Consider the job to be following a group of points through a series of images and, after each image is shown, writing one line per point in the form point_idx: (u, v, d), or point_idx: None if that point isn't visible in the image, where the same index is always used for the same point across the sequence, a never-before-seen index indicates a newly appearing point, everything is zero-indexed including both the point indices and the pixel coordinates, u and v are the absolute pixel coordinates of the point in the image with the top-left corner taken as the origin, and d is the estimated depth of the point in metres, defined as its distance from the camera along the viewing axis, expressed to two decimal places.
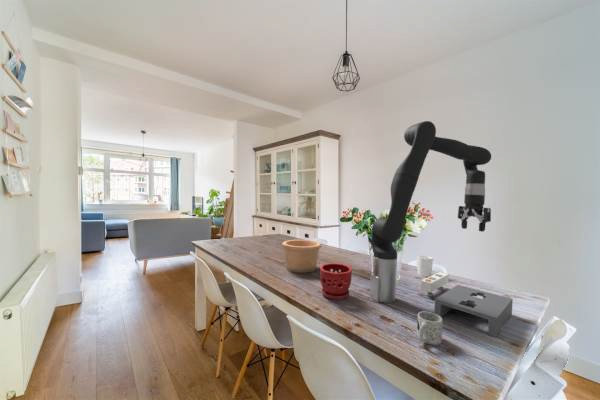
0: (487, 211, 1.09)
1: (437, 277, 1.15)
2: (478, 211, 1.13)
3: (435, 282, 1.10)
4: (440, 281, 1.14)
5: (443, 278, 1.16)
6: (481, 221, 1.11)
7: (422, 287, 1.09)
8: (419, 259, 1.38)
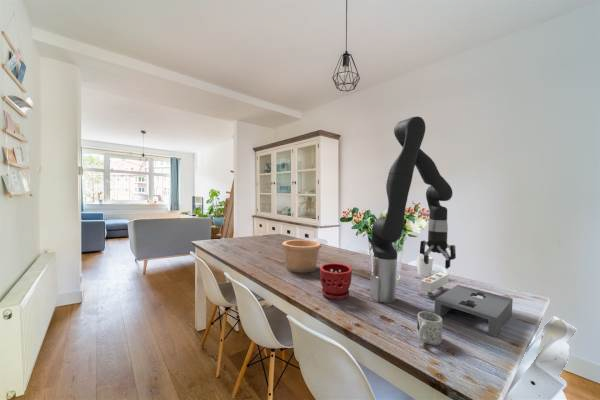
0: (453, 249, 1.09)
1: (437, 277, 1.15)
2: (444, 248, 1.11)
3: (435, 282, 1.10)
4: (440, 281, 1.14)
5: (443, 278, 1.16)
6: (448, 258, 1.10)
7: (422, 287, 1.09)
8: (419, 259, 1.38)
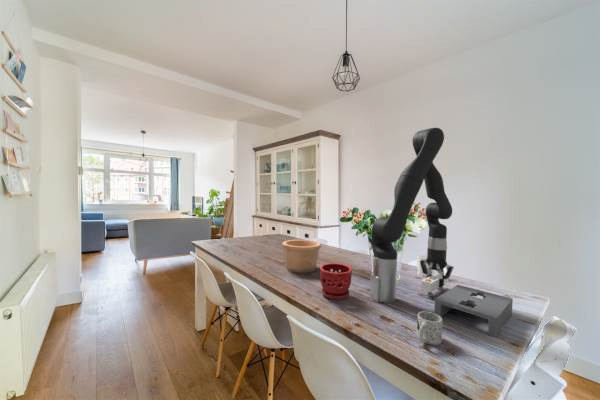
0: (451, 270, 1.10)
1: (437, 277, 1.15)
2: (442, 268, 1.12)
3: (435, 282, 1.10)
4: None
5: None
6: (441, 278, 1.12)
7: (422, 287, 1.09)
8: (419, 259, 1.38)
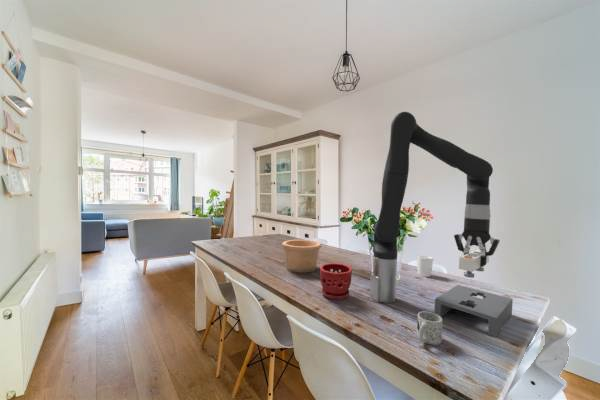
0: (497, 244, 0.87)
1: (477, 254, 0.92)
2: (484, 242, 0.89)
3: (477, 259, 0.87)
4: None
5: None
6: (484, 254, 0.89)
7: (461, 265, 0.87)
8: (419, 259, 1.38)
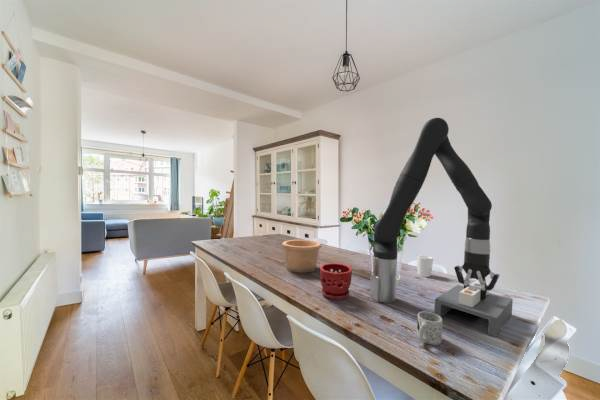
0: (496, 279, 0.88)
1: (477, 287, 0.93)
2: (484, 276, 0.90)
3: (477, 294, 0.88)
4: None
5: None
6: (483, 288, 0.90)
7: (461, 300, 0.88)
8: (419, 259, 1.38)
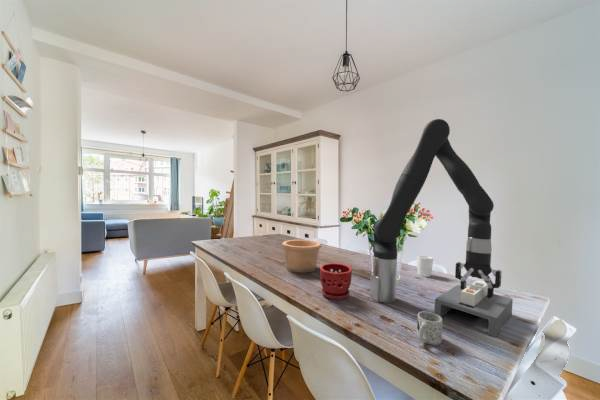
0: (500, 275, 0.89)
1: (478, 287, 0.95)
2: (486, 273, 0.92)
3: (478, 293, 0.90)
4: (483, 292, 0.94)
5: (485, 288, 0.96)
6: (491, 286, 0.90)
7: (462, 299, 0.89)
8: (419, 259, 1.38)
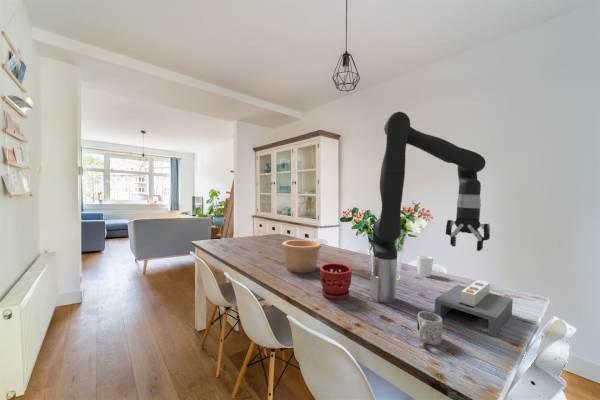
0: (488, 228, 0.94)
1: (478, 287, 0.95)
2: (475, 227, 0.96)
3: (478, 293, 0.90)
4: (483, 292, 0.94)
5: (485, 288, 0.96)
6: (480, 239, 0.95)
7: (462, 299, 0.89)
8: (419, 259, 1.38)
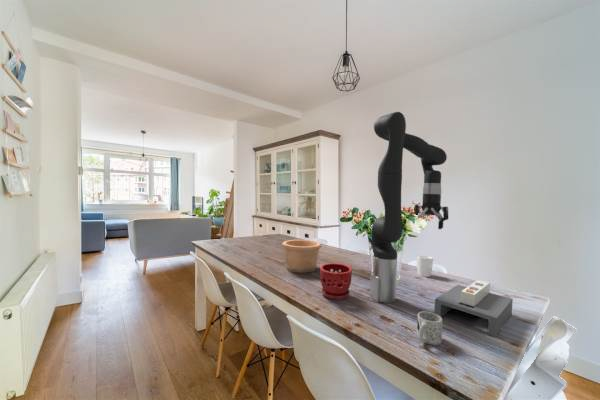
0: (446, 210, 1.14)
1: (478, 287, 0.95)
2: (437, 210, 1.17)
3: (478, 293, 0.90)
4: (483, 292, 0.94)
5: (485, 288, 0.96)
6: (441, 219, 1.15)
7: (462, 299, 0.89)
8: (419, 259, 1.38)
